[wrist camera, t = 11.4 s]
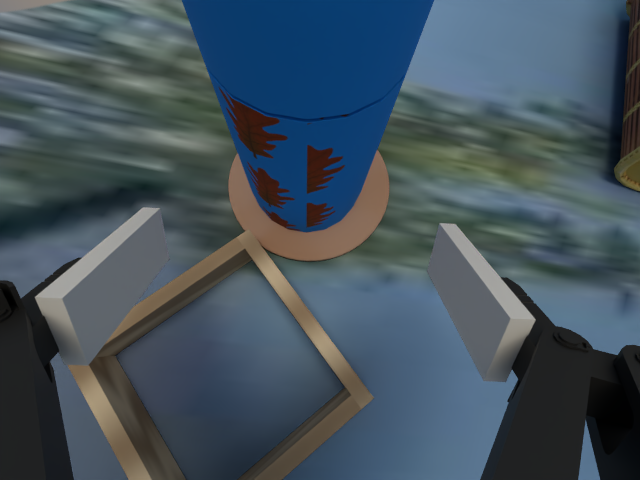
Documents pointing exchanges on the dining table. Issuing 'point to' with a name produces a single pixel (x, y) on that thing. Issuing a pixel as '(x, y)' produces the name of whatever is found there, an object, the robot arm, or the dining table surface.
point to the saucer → (314, 243)
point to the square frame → (106, 372)
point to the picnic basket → (631, 106)
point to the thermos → (307, 93)
